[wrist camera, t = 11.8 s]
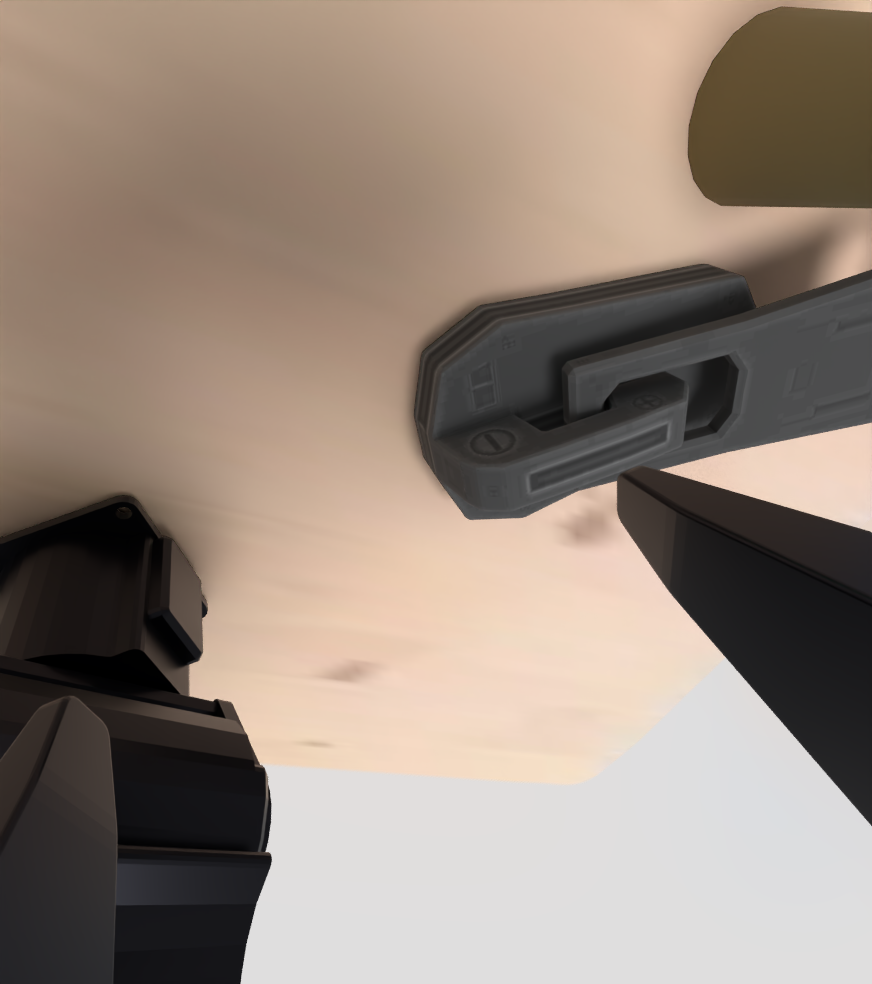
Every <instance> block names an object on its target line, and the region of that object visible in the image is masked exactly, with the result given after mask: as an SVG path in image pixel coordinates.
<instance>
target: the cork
mask: <svg viewBox="0 0 872 984" xmlns="http://www.w3.org/2000/svg"><path fill="white" fill-rule="evenodd" d="M688 157H689V162H690V166H691V170H692V174H693V179H694V181H695V182H696V184H697V185H698V187H699V188H700V190H701V191H702V193H703V194H704V196H705V197H706V198H708V199H710V200H712V201H713V202H715V203H717V204H719V205H721V206H759V207H826V208H872V13H870V12H855V11H840V10H825V9H810V8H795V7H779V8H776V9H773V10H770V11H767V12H764V13H761V14H758V15H757V16H756V17H754V18H753V19H752V20H750V21H749V22H748V23H747V24H745V25H744V26H743V27H742V28H740V29H739V30H738V31H737V32H735V33H734V34H733V35H732V37H731V38H730V39H729V41H728V42H727V43H726V45H725V46H724V47H723V48H722V50H721V51H720V52H719V54H718V55H717V56H716V58H715V59H714V60H713V62H712V64H711V66H710V68H709V70H708V72H707V74H706V76H705V79H704V81H703V83H702V85H701V87H700V89H699V91H698V93H697V97H696V101H695V105H694V109H693V113H692V117H691V120H690V124H689V144H688Z"/></svg>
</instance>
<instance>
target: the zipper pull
mask: <svg viewBox="0 0 872 984" xmlns="http://www.w3.org/2000/svg"><path fill="white" fill-rule="evenodd" d="M414 417H415V422H416V426H417V431H418V435H419V439H420V444H421V448H422V452H423V457H424V458H425V460H426V461H427V463H428V465H429V466H430V468H431V469H432V471H433V472H434V474H435V475H436V477H437V478H438V480H439V481H440V483H441V484H442V485H443V487H444V488H445V490H446V491H447V492H448V494H449V495H450V496H451V498H452V499H453V501H454V502H455V503H456V505H457V506H458V507H459V509H460V510H461V512H462V513H463V514H464V516H465V517H466V518H467V519H469V520H478V519H504V518H523V517H526V516H528V515H530V514H532V513H534V512H536V511H538V510H540V509H542V508H544V507H546V506H548V505H550V504H552V503H554V502H556V501H559V500H561V499H563V498H565V497H567V496H569V495H571V494H573V493H575V492H577V491H579V490H583V489H587V488H591V487H595V486H599V485H603V484H607V483H610V482H614V481H617V478H618V476H619V474H621V473H622V472H624V471H627V470H629V469H632V468H634V467H637V466H646V467H650V468H653V469H657V470H660V469H664V468H668V467H672V466H676V465H680V464H683V463H687V462H691V461H695V460H699V459H703V458H706V457H710V456H714V455H718V454H722V453H726V452H730V451H735V450H740V449H745V448H750V447H755V446H760V445H765V444H769V443H774V442H779V441H784V440H789V439H794V438H799V437H804V436H808V435H813V434H818V433H823V432H828V431H833V430H838V429H843V428H847V427H852V426H857V425H862V424H867V423H872V270H869V271H866V272H863V273H860V274H857V275H854V276H851V277H848V278H845V279H842V280H839V281H837V282H834V283H831V284H828V285H825V286H822V287H819V288H816V289H813V290H810V291H807V292H804V293H801V294H798V295H795V296H792V297H789V298H786V299H783V300H780V301H777V302H774V303H771V304H768V305H765V306H762V307H759V308H756V306H755V304H754V301H753V298H752V296H751V293H750V290H749V287H748V285H747V282H746V279H745V278H744V277H743V276H741V275H738V274H735V273H732V272H729V271H726V270H723V269H720V268H717V267H714V266H711V265H708V264H700V265H693V266H687V267H682V268H677V269H672V270H667V271H662V272H657V273H652V274H646V275H641V276H636V277H631V278H626V279H621V280H616V281H611V282H605V283H600V284H595V285H590V286H585V287H580V288H575V289H570V290H565V291H559V292H554V293H549V294H543V295H537V296H532V297H526V298H520V299H514V300H508V301H502V302H496V303H491V304H485V305H481V306H478V307H477V308H476V309H475V310H473V311H472V312H471V313H470V314H468V315H467V316H466V317H465V318H463V319H462V320H461V321H460V322H458V323H457V324H456V325H455V326H454V327H452V328H451V329H450V330H449V331H447V332H446V333H445V334H444V335H442V336H441V337H440V338H439V339H437V340H436V341H435V342H434V343H432V344H431V345H430V346H429V347H427V348H426V349H425V350H424V351H423V352H422V355H421V362H420V370H419V378H418V385H417V393H416V401H415V409H414Z"/></svg>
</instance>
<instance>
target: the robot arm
mask: <svg viewBox="0 0 872 984" xmlns="http://www.w3.org/2000/svg"><path fill="white" fill-rule="evenodd" d="M123 507H125V508H128V509H130V510H131V511H130V512H128V513H123V512H120V511H119V510H117V509H119V508H123ZM617 512H618V516H619V519H620V521H621V523H622V524H623V526H624V527H625V529H626V530H627V532H628V533H629V535H630V536H631V537H632V539H633V540H634V542H635V543H636V545H637V546H638V548H639V549H640V551H641V552H642V553H643V555H644V556H645V558H646V559H647V561H648V562H649V564H650V565H651V567H652V568H653V569H654V571H655V572H656V574H657V575H658V577H659V578H660V580H661V581H662V582H663V584H664V585H665V586H666V588H667V589H668V591H669V592H670V593H671V594H672V596H673V597H674V598H675V599H676V600H677V602H678V603H679V604H680V605H681V606H682V607H683V609H684V610H685V611H686V612H687V613H688V614H689V616H690V617H691V618H692V619H693V620H694V621H695V622H696V624H697V625H698V626H699V627H700V628H701V629H702V631H703V632H704V633H705V634H706V635H707V636H708V637H709V639H710V640H711V641H712V642H713V643H714V644H715V646H716V647H717V648H718V649H719V650H720V651H721V652H722V654H723V655H724V656H725V657H726V658H727V659H728V661H729V662H730V663H731V664H732V665H733V666H734V667H735V669H736V670H737V671H738V672H739V673H740V674H741V675H742V677H743V678H744V679H745V680H746V681H747V682H748V684H749V685H750V686H751V687H752V688H753V689H754V690H755V692H756V693H757V694H758V695H759V696H760V697H761V699H762V700H763V701H764V702H765V703H766V704H767V706H768V707H769V708H770V709H771V710H772V711H773V713H774V714H775V715H776V716H777V717H778V718H779V719H780V720H781V722H782V723H783V724H784V725H785V726H786V727H787V729H788V730H789V731H790V732H791V733H792V734H793V736H794V737H795V738H796V739H797V740H798V741H799V743H800V744H801V745H802V746H803V747H804V748H805V749H806V750H807V752H808V753H809V754H810V755H811V756H812V758H813V759H814V760H815V761H816V762H817V763H818V764H819V766H820V767H821V768H822V769H823V770H824V771H825V772H826V774H827V775H828V776H829V777H830V778H831V779H832V781H833V782H834V783H835V784H836V785H837V786H838V788H839V789H840V790H841V791H842V792H843V793H844V794H845V796H846V797H847V798H848V799H849V800H850V801H851V803H852V804H853V805H854V806H855V807H856V808H857V809H858V811H859V812H860V813H861V814H862V815H863V816H864V818H865V819H866V820H867V821H868V822H869V823H870V824H871V826H872V533H871V532H870V531H866V530H863V529H860V528H856V527H853V526H849V525H846V524H842V523H839V522H835V521H832V520H829V519H825V518H822V517H818V516H815V515H811V514H808V513H805V512H801V511H798V510H794V509H791V508H787V507H784V506H780V505H777V504H774V503H770V502H767V501H763V500H760V499H756V498H753V497H750V496H746V495H743V494H739V493H736V492H732V491H729V490H725V489H722V488H719V487H715V486H712V485H708V484H705V483H701V482H698V481H695V480H691V479H688V478H684V477H681V476H677V475H674V474H670V473H667V472H664V471H660V470H657V469H653V468H650V467H646V466H637V467H634V468H632V469H629V470H627V471H624V472H622V473H621V474H619V476H618V478H617ZM207 611H208V607H207V601H206V599H205V598H204V597H203V595H202V594H201V581H200V579H199V577H198V576H197V574H196V573H195V571H194V570H193V568H192V567H191V565H190V564H189V562H188V561H187V560H186V558H185V557H184V555H183V554H182V552H181V551H180V549H179V548H178V546H177V545H176V543H175V542H174V540H173V539H171V538H169V537H166V536H163V537H162V535H161V534H160V532H159V531H158V529H157V528H156V527H155V525H154V524H153V522H152V521H151V519H150V518H149V516H148V515H147V513H146V512H145V510H144V509H143V508H142V506H141V505H140V503H139V502H138V501H137V500H136V499H135V498H133V497H131V496H125V495H122V496H117V497H114V498H112V499H109V500H106V501H103V502H100V503H97V504H95V505H92V506H89V507H86V508H83V509H81V510H78V511H75V512H72V513H69V514H67V515H64V516H61V517H58V518H55V519H52V520H50V521H47V522H44V523H41V524H38V525H36V526H33V527H30V528H27V529H24V530H22V531H19V532H16V533H13V534H10V535H7V536H5V537H2V538H0V984H240V982H241V974H242V968H243V962H244V955H245V949H246V943H247V939H248V935H249V931H250V926H251V923H252V919H253V915H254V911H255V907H256V903H257V901H258V898H259V896H260V893H261V890H262V888H263V885H264V882H265V880H266V877H267V874H268V872H269V869H270V866H271V862H272V858H271V854H270V853H269V852H265V851H266V847H267V843H268V838H269V831H270V824H271V798H270V790H269V786H268V776H267V773H266V771H265V768H264V767H263V766H262V765H260V764H259V762H258V759H257V757H256V755H255V753H254V751H253V748H252V746H251V744H250V742H249V739H248V735H247V734H246V733H245V731H244V729H243V726H242V724H241V722H240V720H239V718H238V715H237V713H236V711H235V709H234V707H233V704H232V703H231V702H228V701H223V700H219V699H215V700H214V701H208V700H204V699H199V698H195V697H190V696H189V664H192V663H194V662H197V661H199V660H200V658H201V656H202V653H203V637H202V618H203V617H205V616H206V614H207Z"/></svg>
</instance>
